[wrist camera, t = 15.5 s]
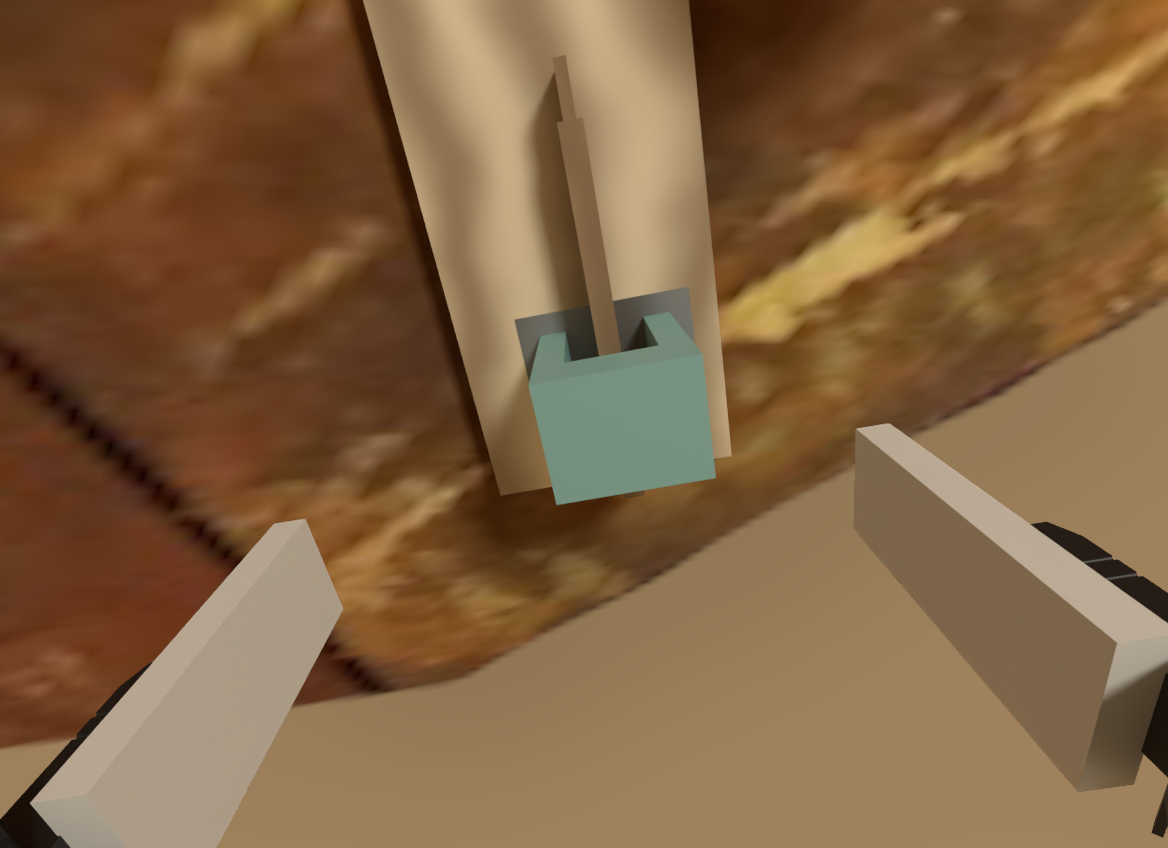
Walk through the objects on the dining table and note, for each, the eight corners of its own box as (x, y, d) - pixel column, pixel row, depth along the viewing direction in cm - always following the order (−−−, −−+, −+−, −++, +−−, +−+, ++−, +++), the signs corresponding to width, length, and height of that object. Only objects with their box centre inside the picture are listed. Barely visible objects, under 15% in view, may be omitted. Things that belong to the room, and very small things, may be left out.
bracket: (560, 429, 35) (556, 505, 26) (540, 335, 32) (528, 385, 24) (681, 408, 34) (715, 477, 26) (668, 311, 32) (702, 353, 24)
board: (504, 481, 38) (494, 520, 34) (341, -117, 26) (291, -184, 21) (723, 442, 37) (744, 478, 33) (661, -193, 25) (680, -279, 21)
